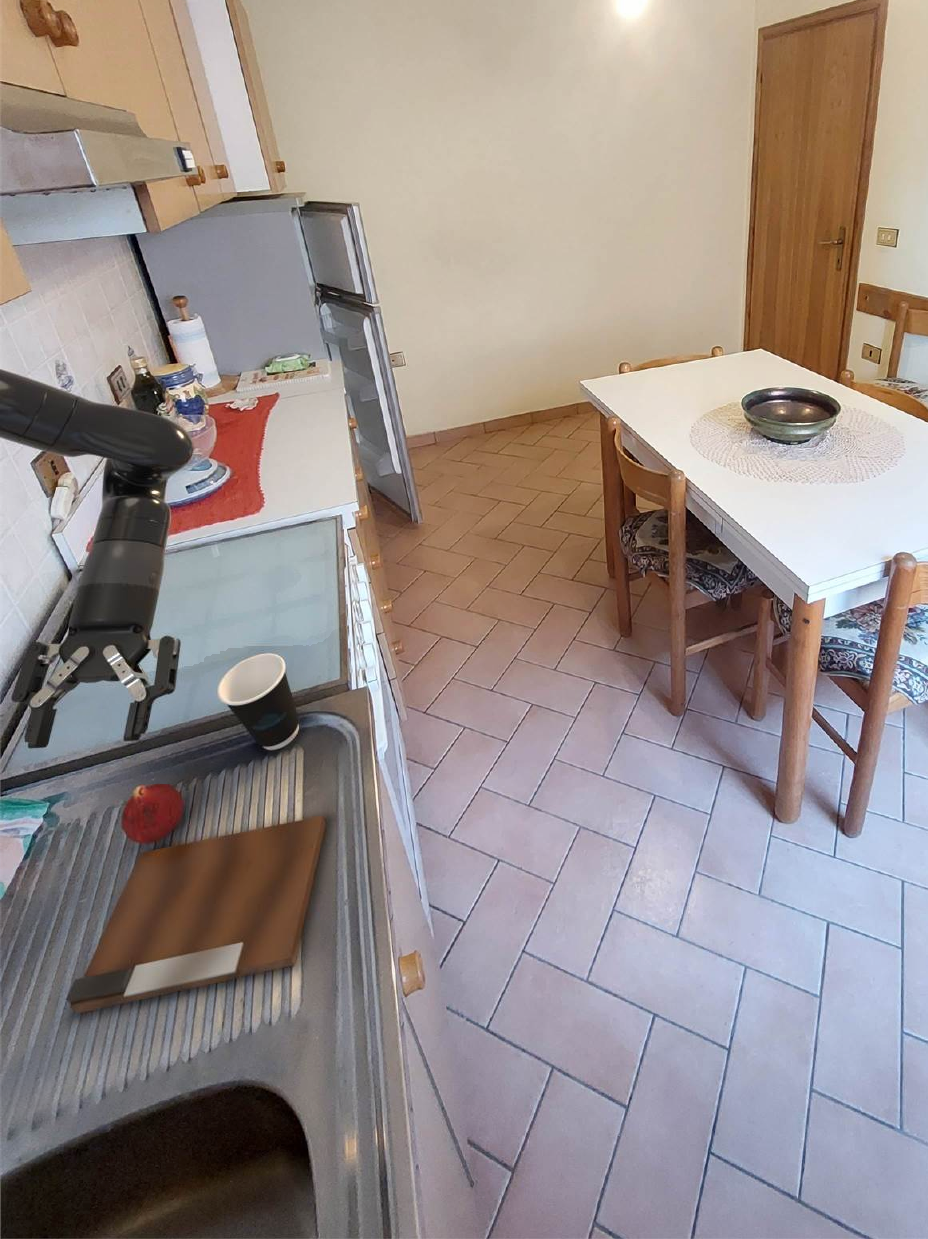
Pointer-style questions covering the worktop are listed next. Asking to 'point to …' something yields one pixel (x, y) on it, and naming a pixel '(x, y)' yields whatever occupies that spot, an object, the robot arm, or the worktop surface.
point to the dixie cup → (261, 699)
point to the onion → (152, 813)
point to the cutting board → (205, 915)
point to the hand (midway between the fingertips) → (84, 744)
